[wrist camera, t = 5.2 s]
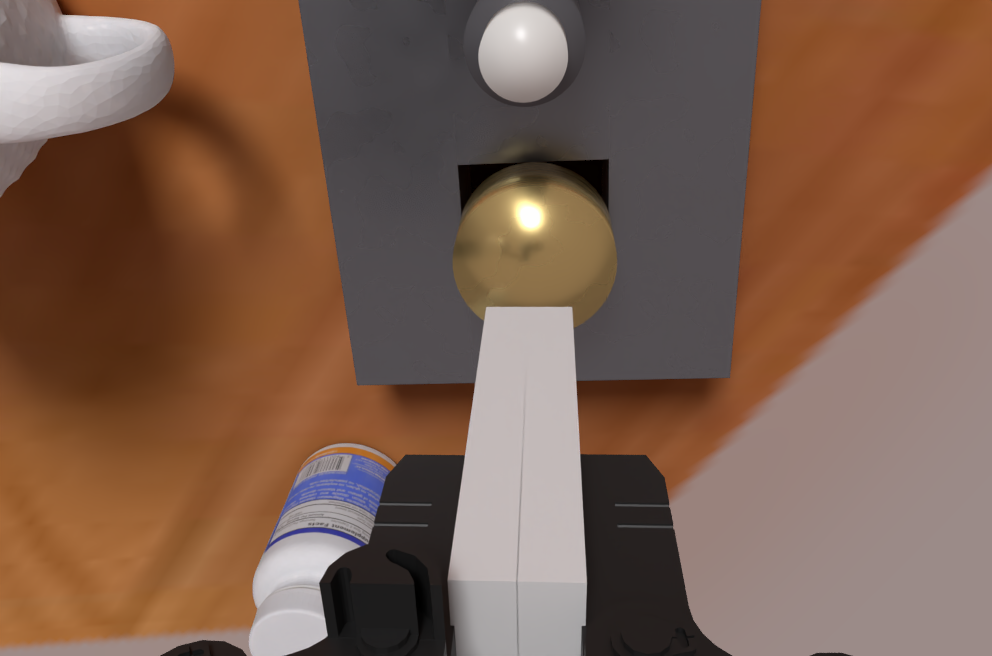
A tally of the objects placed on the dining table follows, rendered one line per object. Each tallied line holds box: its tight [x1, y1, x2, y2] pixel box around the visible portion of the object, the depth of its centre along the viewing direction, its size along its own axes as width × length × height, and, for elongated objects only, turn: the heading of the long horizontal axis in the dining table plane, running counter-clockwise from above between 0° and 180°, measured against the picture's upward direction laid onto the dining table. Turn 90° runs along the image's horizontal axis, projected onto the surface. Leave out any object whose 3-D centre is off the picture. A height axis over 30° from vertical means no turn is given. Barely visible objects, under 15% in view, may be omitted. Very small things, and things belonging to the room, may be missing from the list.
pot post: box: [464, 0, 586, 107], centre depth 24 cm, size 3×3×6 cm
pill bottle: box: [249, 443, 396, 656], centre depth 36 cm, size 5×5×10 cm
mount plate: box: [299, 0, 761, 385], centre depth 28 cm, size 14×26×4 cm, turn 3°
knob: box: [453, 162, 617, 328], centre depth 30 cm, size 5×5×6 cm
